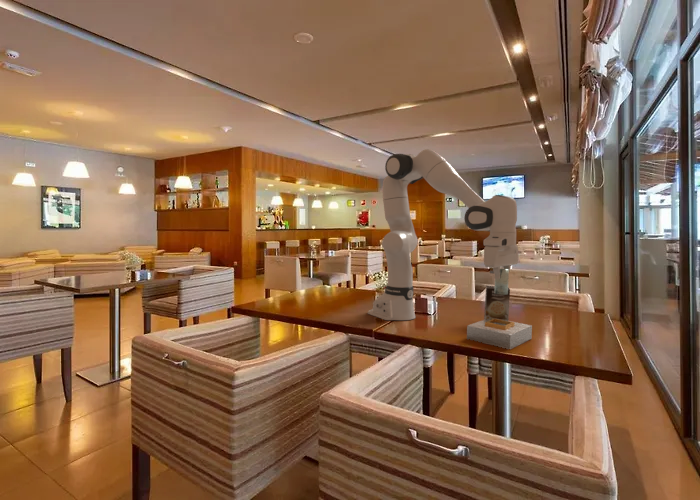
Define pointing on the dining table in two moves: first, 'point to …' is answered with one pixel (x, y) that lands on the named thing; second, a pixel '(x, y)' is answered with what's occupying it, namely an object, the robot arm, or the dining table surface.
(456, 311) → the dining table surface
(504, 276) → the spout can
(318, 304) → the dining table surface
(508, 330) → the grey rectangular block
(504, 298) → the coffee box
